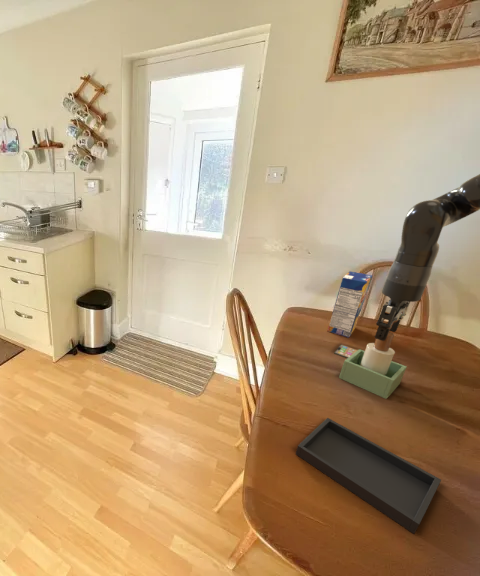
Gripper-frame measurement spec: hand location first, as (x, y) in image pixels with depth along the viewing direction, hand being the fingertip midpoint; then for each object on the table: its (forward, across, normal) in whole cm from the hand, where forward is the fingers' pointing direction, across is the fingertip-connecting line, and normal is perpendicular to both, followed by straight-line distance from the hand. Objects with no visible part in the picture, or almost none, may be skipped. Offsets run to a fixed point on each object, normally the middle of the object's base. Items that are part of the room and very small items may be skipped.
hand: (385, 334), depth 86 cm
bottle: (+15, 0, 0) cm, 15 cm away
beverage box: (+16, +31, +18) cm, 39 cm away
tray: (+16, -36, -10) cm, 41 cm away
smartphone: (+16, +13, +5) cm, 22 cm away
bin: (+16, 0, 0) cm, 16 cm away
